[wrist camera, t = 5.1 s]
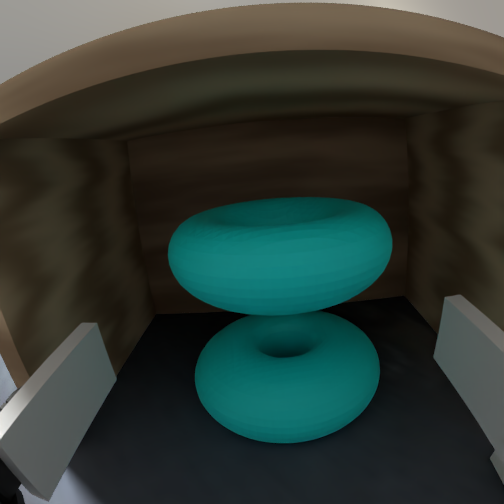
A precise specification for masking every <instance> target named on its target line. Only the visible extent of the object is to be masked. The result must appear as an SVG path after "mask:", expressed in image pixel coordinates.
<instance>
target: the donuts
mask: <svg viewBox="0 0 504 504" xmlns="http://www.w3.org/2000/svg"><path fill="white" fill-rule="evenodd" d="M391 252H392V235H391V231H390V228H389V226H388V224H387V222H386V221H385V219H384V218H383V217H382V216H381V215H380V214H379V213H378V212H377V211H376V210H374V209H373V208H371V207H369V206H367V205H365V204H362V203H359V202H355V201H351V200H345V199H338V198H325V197H289V198H271V199H261V200H253V201H246V202H240V203H234V204H229V205H224V206H220V207H216V208H212V209H209V210H206V211H203V212H201V213H198V214H196V215H194V216H192V217H190V218H188V219H187V220H185V221H184V222H183V223H182V224H180V225H179V227H178V228H177V229H176V231H175V232H174V233H173V235H172V237H171V240H170V243H169V247H168V260H169V265H170V268H171V270H172V273H173V275H174V276H175V278H176V279H177V281H178V282H179V283H180V285H181V286H182V287H183V288H185V289H186V290H187V291H188V292H189V293H190V294H192V295H193V296H195V297H196V298H198V299H200V300H202V301H204V302H206V303H208V304H210V305H212V306H215V307H218V308H221V309H224V310H228V311H232V312H237V313H243V314H251V315H249V316H246V317H244V318H241V319H239V320H237V321H235V322H233V323H231V324H229V325H227V326H226V327H225V328H223V329H222V330H220V331H219V332H218V333H217V334H216V335H214V336H213V337H212V338H211V339H210V341H209V342H208V343H207V344H206V346H205V347H204V349H203V350H202V352H201V354H200V356H199V358H198V361H197V365H196V369H195V385H196V390H197V393H198V396H199V399H200V401H201V403H202V404H203V406H204V407H205V409H206V410H207V411H208V413H209V414H210V415H211V416H212V417H213V418H214V419H215V420H216V421H217V422H219V423H220V424H221V425H223V426H224V427H226V428H227V429H229V430H231V431H233V432H235V433H237V434H239V435H241V436H244V437H247V438H250V439H253V440H257V441H262V442H270V443H298V442H305V441H309V440H314V439H317V438H321V437H323V436H326V435H329V434H331V433H333V432H335V431H337V430H339V429H341V428H343V427H344V426H346V425H347V424H349V423H350V422H351V421H353V420H354V419H355V418H356V417H358V416H359V415H360V414H361V413H362V412H363V411H364V409H365V408H366V407H367V406H368V404H369V403H370V401H371V399H372V398H373V396H374V394H375V392H376V389H377V387H378V382H379V377H380V364H379V358H378V354H377V352H376V350H375V347H374V345H373V343H372V342H371V340H370V339H369V338H368V337H367V336H366V334H365V333H364V332H363V331H362V330H361V329H359V328H358V327H357V326H355V325H354V324H352V323H351V322H349V321H347V320H346V319H344V318H342V317H339V316H337V315H334V314H331V313H327V312H323V311H319V310H320V309H324V308H328V307H331V306H334V305H337V304H339V303H342V302H344V301H347V300H349V299H351V298H353V297H354V296H356V295H358V294H359V293H361V292H362V291H364V290H365V289H367V288H368V287H369V286H370V285H372V284H373V283H374V282H375V281H376V280H377V279H378V277H379V276H380V275H381V274H382V273H383V271H384V270H385V268H386V266H387V264H388V262H389V260H390V256H391Z"/></svg>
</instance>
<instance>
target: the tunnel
mask: <svg viewBox="0 0 504 504" xmlns="http://www.w3.org/2000/svg"><path fill="white" fill-rule="evenodd" d="M289 197H325V198H338V199H345V200H351V201H355V202H359V203H362V204H365V205H367V206H369V207H371V208H373V209H374V210H376V211H377V212H378V213H379V214H380V215H381V216H382V217H383V218H384V219H385V221H386V222H387V224H388V226H389V228H390V231H391V235H392V252H391V256H390V260H389V262H388V264H387V266H386V268H385V270H384V271H383V273H382V274H381V275H380V276H379V277H378V279H377V280H376V281H375V282H374V283H373V284H372V285H370V286H369V287H368V288H367V289H365V290H364V291H362V292H361V293H359V294H358V295H356V296H354V297H353V298H351V299H349V300H347V301H344V302H342V303H345V302H354V301H364V300H372V299H381V298H389V297H397V296H405V297H406V298H407V299H408V300H409V301H410V303H411V304H412V305H413V306H414V307H415V308H416V309H417V311H418V312H419V313H420V314H421V315H422V316H423V318H424V319H425V320H426V321H427V322H428V323H429V325H430V326H431V327H432V328H433V329H434V331H435V332H436V333H437V334H438V333H439V328H440V322H441V317H442V311H443V305H444V298H445V297H448V296H454V295H462V296H463V297H464V298H465V299H466V300H468V301H469V302H470V303H471V304H472V305H474V306H475V307H476V308H477V309H478V310H479V311H481V312H482V313H483V314H484V315H485V316H486V317H488V318H489V319H490V320H491V321H492V322H493V323H494V324H496V325H497V326H498V327H499V328H500V329H501V330H502V331H503V332H504V38H503V37H501V36H498V35H495V34H492V33H489V32H487V31H484V30H481V29H477V28H474V27H471V26H467V25H464V24H460V23H457V22H453V21H449V20H445V19H441V18H437V17H432V16H428V15H424V14H419V13H413V12H408V11H402V10H396V9H389V8H381V7H373V6H363V5H352V4H336V3H276V4H259V5H248V6H238V7H229V8H222V9H215V10H208V11H202V12H196V13H191V14H186V15H181V16H176V17H172V18H167V19H163V20H159V21H155V22H151V23H147V24H143V25H140V26H136V27H133V28H130V29H126V30H123V31H120V32H117V33H114V34H110V35H108V36H105V37H102V38H99V39H96V40H93V41H91V42H88V43H86V44H83V45H80V46H78V47H75V48H73V49H70V50H68V51H66V52H63V53H61V54H59V55H56V56H54V57H52V58H50V59H48V60H46V61H43V62H41V63H39V64H37V65H35V66H33V67H31V68H29V69H28V70H26V71H24V72H22V73H20V74H18V75H16V76H14V77H13V78H11V79H9V80H7V81H5V82H4V83H2V84H0V354H1V356H2V358H3V360H4V363H5V365H6V367H7V369H8V371H9V373H10V375H11V377H12V379H13V381H14V383H15V385H16V387H17V388H20V387H21V386H23V385H24V384H25V383H26V382H27V380H28V379H29V378H30V377H31V376H32V375H33V374H34V373H35V372H36V370H37V369H38V368H39V367H40V366H41V365H42V364H43V363H44V362H45V361H46V359H47V358H48V357H49V356H50V355H51V354H52V353H53V352H54V351H55V350H56V349H57V348H58V347H59V346H60V345H61V343H62V342H63V341H64V340H65V339H66V338H67V337H68V336H69V335H70V334H71V333H72V332H73V331H74V330H75V329H76V328H77V327H78V326H79V325H80V324H81V323H97V324H98V327H99V331H100V334H101V337H102V340H103V343H104V346H105V348H106V351H107V354H108V357H109V360H110V362H111V365H112V368H113V370H114V373H115V376H117V374H118V373H119V371H120V370H121V368H122V366H123V365H124V363H125V362H126V360H127V358H128V357H129V355H130V354H131V352H132V351H133V349H134V347H135V346H136V344H137V343H138V341H139V340H140V338H141V337H142V335H143V333H144V332H145V330H146V329H147V327H148V326H149V324H150V323H151V321H152V320H153V318H154V317H155V315H156V314H181V313H207V312H228V310H224V309H221V308H218V307H215V306H212V305H210V304H208V303H206V302H204V301H202V300H200V299H198V298H196V297H195V296H193V295H192V294H190V293H189V292H188V291H187V290H186V289H185V288H183V287H182V286H181V285H180V283H179V282H178V281H177V279H176V278H175V276H174V275H173V273H172V270H171V268H170V265H169V260H168V247H169V243H170V240H171V237H172V235H173V233H174V232H175V231H176V229H177V228H178V227H179V225H180V224H182V223H183V222H184V221H185V220H187V219H188V218H190V217H192V216H194V215H196V214H198V213H201V212H203V211H206V210H209V209H212V208H216V207H220V206H224V205H229V204H234V203H240V202H246V201H253V200H261V199H271V198H289Z"/></svg>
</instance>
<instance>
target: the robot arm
mask: <svg viewBox="0 0 504 504" xmlns="http://www.w3.org/2000/svg"><path fill="white" fill-rule="evenodd" d="M433 358H434V359H435V361H436V362H437V363H438V365H439V366H440V367H441V369H442V370H443V372H444V373H445V374H446V376H447V377H448V379H449V380H450V382H451V383H452V384H453V386H454V387H455V389H456V390H457V392H458V393H459V395H460V396H461V398H462V399H463V401H464V402H465V404H466V405H467V407H468V408H469V410H470V411H471V413H472V414H473V416H474V417H475V419H476V420H477V422H478V423H479V425H480V427H481V428H482V430H483V431H484V433H485V434H486V436H487V438H488V439H489V441H490V443H491V444H492V446H493V448H494V449H495V451H496V453H497V454H498V456H499V458H500V459H501V461H502V463H503V464H504V332H503V331H502V330H501V329H500V328H499V327H498V326H497V325H496V324H494V323H493V322H492V321H491V320H490V319H489V318H488V317H486V316H485V315H484V314H483V313H482V312H481V311H479V310H478V309H477V308H476V307H475V306H474V305H472V304H471V303H470V302H469V301H468V300H466V299H465V298H464V297H463V296H462V295H454V296H448V297H445V298H444V305H443V311H442V317H441V322H440V328H439V333H438V338H437V343H436V347H435V352H434V356H433ZM116 380H117V378H116V376H115V373H114V370H113V368H112V365H111V362H110V360H109V357H108V354H107V351H106V348H105V346H104V343H103V340H102V337H101V334H100V331H99V327H98V324H97V323H81V324H80V325H79V326H78V327H77V328H76V329H75V330H74V331H73V332H72V333H71V334H70V335H69V336H68V337H67V338H66V339H65V340H64V341H63V342H62V343H61V345H60V346H59V347H58V348H57V349H56V350H55V351H54V352H53V353H52V354H51V355H50V356H49V357H48V358H47V359H46V361H45V362H44V363H43V364H42V365H41V366H40V367H39V368H38V369H37V370H36V372H35V373H34V374H33V375H32V376H31V377H30V378H29V379H28V380H27V382H26V383H25V384H24V385H23V386H21V387H20V388H18V389H17V390H16V391H14V392H13V393H12V394H11V395H10V397H9V398H8V399H7V400H6V403H3V405H2V406H1V407H0V504H25V503H24V498H23V495H22V493H21V491H20V490H19V489H18V488H19V486H20V485H21V484H22V485H23V486H24V487H25V488H26V489H27V490H28V491H29V492H30V493H31V494H32V495H35V496H37V497H39V498H41V499H44V500H46V501H48V502H49V500H50V498H51V496H52V494H53V492H54V490H55V489H56V487H57V485H58V483H59V481H60V479H61V477H62V475H63V473H64V472H65V470H66V468H67V466H68V464H69V462H70V460H71V459H72V457H73V455H74V453H75V451H76V449H77V448H78V446H79V444H80V442H81V440H82V439H83V437H84V435H85V433H86V432H87V430H88V428H89V426H90V425H91V423H92V421H93V419H94V418H95V416H96V414H97V412H98V411H99V409H100V407H101V405H102V404H103V402H104V400H105V399H106V397H107V395H108V394H109V392H110V390H111V388H112V387H113V385H114V383H115V382H116Z"/></svg>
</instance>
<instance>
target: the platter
mask: <svg viewBox="0 0 504 504" xmlns="http://www.w3.org/2000/svg"><path fill="white" fill-rule="evenodd" d="M490 460H491V462H492V463H493V465H494V467H495V469H496V471H497V473H498V475H499V476H500V478H501V480H502V482H503V484H504V464H503V463H502V461H501V459H500V458H499V456H498V454H497V453H496V451H494V453H493V454H492V456H491V457H490Z"/></svg>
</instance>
